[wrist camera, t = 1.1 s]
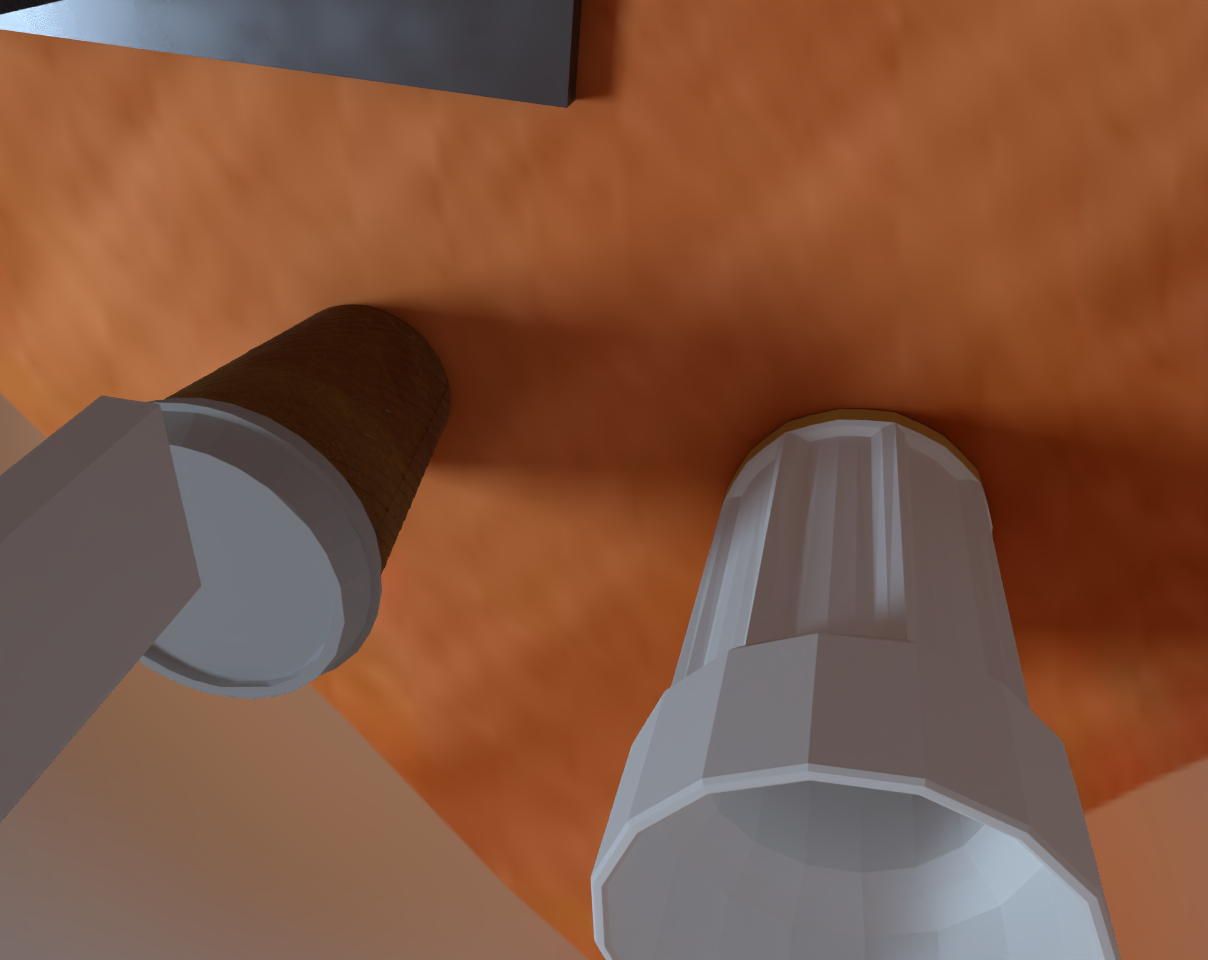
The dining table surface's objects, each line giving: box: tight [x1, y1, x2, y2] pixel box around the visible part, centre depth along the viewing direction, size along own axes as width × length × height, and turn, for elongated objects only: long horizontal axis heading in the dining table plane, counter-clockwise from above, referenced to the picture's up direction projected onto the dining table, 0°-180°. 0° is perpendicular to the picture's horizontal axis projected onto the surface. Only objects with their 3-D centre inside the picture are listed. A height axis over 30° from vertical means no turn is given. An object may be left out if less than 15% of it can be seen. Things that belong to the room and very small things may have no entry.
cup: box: [591, 409, 1121, 960], centre depth 31 cm, size 11×11×17 cm
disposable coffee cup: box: [139, 305, 450, 699], centre depth 34 cm, size 10×10×12 cm
